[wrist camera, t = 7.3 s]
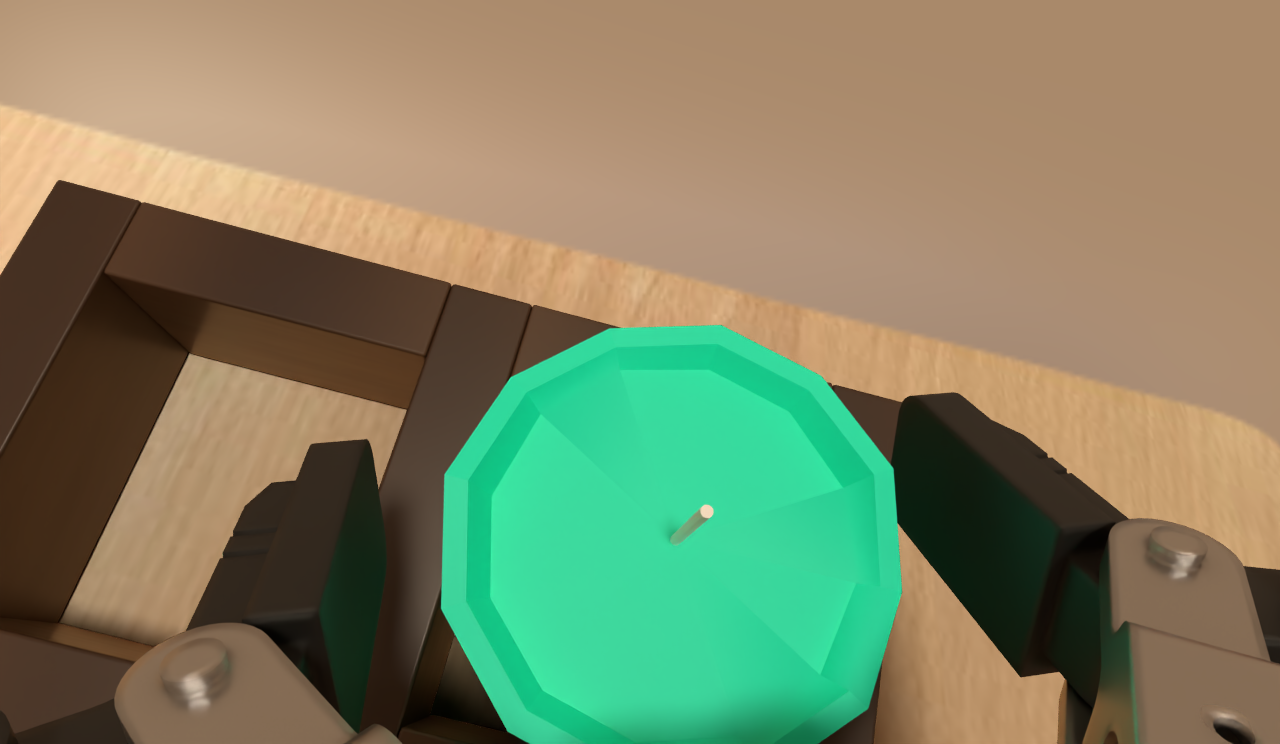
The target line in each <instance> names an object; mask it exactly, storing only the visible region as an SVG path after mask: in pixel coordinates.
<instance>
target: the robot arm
mask: <svg viewBox="0 0 1280 744" xmlns="http://www.w3.org/2000/svg"><path fill="white" fill-rule="evenodd" d="M891 466H892V467H893V469H894V483H895V497H896V512H897V523H898V524H899V525H900V527H901V528H902V529H903V530H904V532H905V533H906V534H907V536H908V537H909V538H910V539H911V541H912V542H913V543H914V544H915V546H916V547H917V548H918V549H919V551H920V552H921V553H922V554H923V556H924V557H925V558H926V559H927V561H928V562H929V563H930V564H931V566H932V567H933V568H934V569H935V571H936V572H937V573H938V574H939V576H940V577H941V578H942V579H943V581H944V582H945V583H946V584H947V586H948V587H949V588H950V589H951V591H952V592H953V593H954V594H955V596H956V597H957V598H958V599H959V601H960V602H961V603H962V604H963V606H964V607H965V608H966V609H967V611H968V612H969V613H970V615H971V616H972V617H973V618H974V620H975V621H976V622H977V623H978V625H979V626H980V627H981V628H982V630H983V631H984V632H985V633H986V635H987V636H988V637H989V638H990V640H991V641H992V642H993V643H994V645H995V646H996V647H997V648H998V650H999V651H1000V652H1001V653H1002V655H1003V656H1004V657H1005V658H1006V660H1007V661H1008V662H1009V663H1010V665H1011V666H1012V667H1013V668H1014V670H1015V671H1016V672H1017V673H1018V675H1019V676H1020V677H1026V676H1033V675H1040V674H1047V673H1054V672H1060V673H1061V674H1062V675H1063V677H1064V678H1065V681H1064V684H1063V688H1062V691H1061V694H1060V699H1059V713H1058V740H1057V744H1280V570H1276V569H1266V568H1256V567H1246V566H1243V565H1242V563H1241V561H1240V560H1239V559H1238V557H1237V556H1236V555H1235V554H1234V553H1233V552H1232V551H1231V550H1229V549H1228V548H1227V547H1225V546H1224V545H1223V544H1221V543H1220V542H1218V541H1216V540H1215V539H1213V538H1211V537H1209V536H1207V535H1205V534H1203V533H1201V532H1199V531H1196V530H1194V529H1191V528H1189V527H1186V526H1183V525H1179V524H1176V523H1172V522H1168V521H1163V520H1156V519H1142V518H1138V519H1128V518H1127V517H1126V516H1125V515H1123V514H1122V513H1121V512H1120V511H1118V510H1117V509H1116V508H1115V507H1113V506H1112V505H1111V504H1110V503H1108V502H1107V501H1106V500H1105V499H1103V498H1102V497H1101V496H1100V495H1098V494H1097V493H1096V492H1095V491H1093V490H1092V489H1091V488H1090V487H1088V486H1087V485H1086V484H1085V483H1083V482H1082V481H1081V480H1080V479H1078V478H1077V477H1076V476H1075V475H1073V474H1072V473H1069V474H1067V469H1066V468H1064V467H1063V466H1062V465H1061V464H1059V463H1058V462H1057V461H1056V460H1054V459H1053V458H1048V456H1047V453H1046V452H1044V451H1043V450H1042V449H1041V448H1039V447H1038V446H1037V445H1036V444H1034V443H1033V442H1032V441H1031V440H1029V439H1028V438H1027V437H1026V436H1024V435H1022V434H1020V433H1018V432H1016V431H1014V430H1012V429H1010V428H1007V427H1005V426H1003V425H1001V424H999V423H997V422H995V421H992V420H991V419H990V418H988V417H987V416H986V415H985V414H984V413H982V412H981V411H980V410H979V409H977V408H976V407H975V406H974V405H973V404H971V403H970V402H969V401H968V400H966V399H965V398H964V397H963V396H961V395H960V394H958V393H941V394H928V395H916V396H909V397H907V398H905V399H904V401H903V402H902V404H901V406H900V409H899V414H898V421H897V427H896V433H895V440H894V446H893V453H892V459H891ZM386 567H387V549H386V536H385V528H384V522H383V516H382V509H381V503H380V497H379V491H378V484H377V478H376V472H375V465H374V459H373V454H372V449H371V446H370V443H369V441H368V440H367V439H364V440H352V441H340V442H327V443H315V444H311V445H310V447H309V449H308V452H307V454H306V457H305V459H304V462H303V464H302V467H301V469H300V472H299V475H298V477H297V480H296V481H286V482H274V483H271V484H270V485H269V486H267V487H266V488H265V489H264V490H263V491H262V492H261V493H259V494H258V495H257V496H256V497H255V498H254V499H253V500H251V501H250V502H249V503H248V504H247V505H246V506H245V507H244V509H243V511H242V513H241V516H240V518H239V520H238V522H237V524H236V526H235V528H234V530H233V536H232V537H230V539H229V541H228V543H227V545H226V547H225V549H224V552H223V558H220V560H219V562H218V564H217V566H216V568H215V571H214V573H213V575H212V577H211V579H210V581H209V583H208V585H207V587H206V590H205V592H204V594H203V596H202V598H201V600H200V602H199V604H198V606H197V609H196V611H195V613H194V615H193V617H192V619H191V621H190V623H189V625H188V628H187V630H186V631H185V632H183V633H180V634H178V635H176V636H173V637H171V638H169V639H167V640H166V641H164V642H162V643H160V644H158V645H157V646H155V647H154V648H152V649H151V650H149V651H148V652H147V653H145V654H144V655H143V656H142V657H141V658H139V659H138V660H137V661H136V662H135V663H134V664H133V665H132V666H131V667H130V668H129V669H128V671H127V672H126V673H125V675H124V676H123V678H122V679H121V681H120V683H119V685H118V687H117V689H116V694H115V698H113V699H111V700H109V701H107V702H105V703H102V704H100V705H97V706H94V707H92V708H89V709H86V710H83V711H80V712H78V713H75V714H72V715H69V716H66V717H63V718H60V719H57V720H54V721H51V722H48V723H45V724H42V725H39V726H36V727H33V728H30V729H28V730H25V731H22V732H19V733H16V734H14V732H13V729H12V727H11V725H10V723H9V721H8V719H7V717H6V715H5V714H4V713H3V712H2V711H1V710H0V744H402V743H401V742H400V741H399V740H398V739H397V738H396V737H395V736H394V735H393V734H392V733H391V732H390V731H389V730H387V729H386V728H385V727H383V726H381V725H378V724H373V725H371V726H369V727H368V728H366V729H365V730H363V731H362V732H360V733H359V731H360V725H361V719H362V713H363V707H364V702H365V696H366V690H367V684H368V678H369V672H370V666H371V660H372V654H373V649H374V643H375V637H376V631H377V625H378V619H379V613H380V607H381V601H382V596H383V590H384V584H385V578H386Z"/></svg>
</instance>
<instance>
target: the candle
mask: <svg viewBox="0 0 1280 744" xmlns="http://www.w3.org/2000/svg"><path fill="white" fill-rule="evenodd" d="M901 594H902V583H901V569H900V555H899V540H898V526H897V512H896V497H895V483H894V469H893V467H892V466H891V465H890V463H889V462H888V461H887V460H886V458H885V457H884V456H883V454H882V453H881V452H880V451H879V449H878V448H877V447H876V445H875V444H874V443H873V442H872V440H871V439H870V438H869V436H868V435H867V434H866V433H865V431H864V430H863V429H862V427H861V426H860V425H859V424H858V422H857V421H856V420H855V418H854V417H853V416H852V415H851V413H850V412H849V411H848V409H847V408H846V407H845V406H844V404H843V403H842V402H841V400H840V399H839V398H838V397H837V395H836V394H835V393H834V391H833V390H832V389H831V388H830V386H829V385H828V384H827V382H826V381H825V380H824V379H823V377H822V376H820V375H818V374H817V373H815V372H813V371H811V370H809V369H807V368H805V367H803V366H801V365H799V364H797V363H795V362H793V361H791V360H789V359H787V358H785V357H783V356H781V355H779V354H777V353H775V352H773V351H771V350H769V349H767V348H765V347H763V346H761V345H759V344H757V343H755V342H753V341H752V340H750V339H748V338H746V337H744V336H742V335H740V334H738V333H736V332H734V331H732V330H730V329H728V328H726V327H724V326H722V325H708V326H673V327H638V328H609V329H607V330H605V331H603V332H601V333H599V334H597V335H595V336H593V337H591V338H589V339H587V340H585V341H583V342H581V343H579V344H577V345H575V346H573V347H571V348H569V349H567V350H565V351H563V352H561V353H559V354H557V355H555V356H553V357H551V358H549V359H547V360H545V361H543V362H541V363H539V364H537V365H535V366H533V367H531V368H529V369H527V370H525V371H522V372H520V373H518V374H516V375H514V376H512V377H511V378H510V379H509V381H508V382H507V384H506V385H505V386H504V388H503V389H502V391H501V392H500V394H499V395H498V397H497V398H496V400H495V401H494V403H493V404H492V406H491V407H490V408H489V410H488V411H487V413H486V414H485V416H484V417H483V419H482V420H481V422H480V423H479V425H478V426H477V428H476V429H475V430H474V432H473V433H472V435H471V436H470V438H469V439H468V441H467V442H466V444H465V445H464V447H463V448H462V449H461V451H460V452H459V454H458V455H457V457H456V458H455V460H454V461H453V463H452V464H451V466H450V467H449V469H448V470H447V471H446V473H445V474H444V512H443V552H442V592H441V610H442V612H443V613H444V615H445V617H446V619H447V621H448V623H449V624H450V626H451V628H452V630H453V632H454V634H455V636H456V637H457V639H458V641H459V643H460V645H461V647H462V648H463V650H464V652H465V654H466V656H467V658H468V659H469V661H470V663H471V665H472V667H473V669H474V671H475V672H476V674H477V676H478V678H479V680H480V682H481V683H482V685H483V687H484V689H485V691H486V693H487V694H488V696H489V698H490V700H491V702H492V704H493V706H494V707H495V709H496V711H497V713H498V715H499V717H500V718H501V720H502V722H503V724H504V726H505V728H506V730H507V731H508V732H509V733H511V734H513V735H515V736H516V737H518V738H520V739H522V740H524V741H525V742H527V743H529V744H818V743H820V742H821V741H823V740H824V739H826V738H827V737H828V736H830V735H831V734H833V733H834V732H836V731H837V730H838V729H840V728H841V727H843V726H844V725H846V724H847V723H848V722H850V721H851V720H853V719H854V718H856V717H857V716H858V715H860V714H861V713H863V712H864V711H866V710H867V709H868V708H869V704H870V701H871V697H872V694H873V690H874V687H875V683H876V680H877V677H878V673H879V670H880V666H881V663H882V659H883V656H884V652H885V649H886V646H887V642H888V639H889V635H890V632H891V628H892V625H893V621H894V618H895V615H896V611H897V608H898V604H899V601H900V597H901Z"/></svg>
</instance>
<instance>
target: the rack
mask: <svg viewBox="0 0 1280 744" xmlns="http://www.w3.org/2000/svg"><path fill="white" fill-rule="evenodd" d="M609 328H620V327H616V326H612V325H609V324H605V323H601V322H597V321H593V320H590V319H586V318H582V317H578V316H574V315H571V314H567V313H563V312H559V311H555V310H552V309H548V308H544V307H540V306H537V305H534V306H533V307H532V306H531V305H530V304H527V303H524V302H520V301H516V300H512V299H508V298H505V297H501V296H497V295H493V294H490V293H486V292H482V291H478V290H474V289H471V288H467V287H463V286H459V285H453V286H452V287H451V284H450V283H448V282H444V281H441V280H437V279H433V278H429V277H425V276H422V275H418V274H414V273H410V272H406V271H403V270H399V269H395V268H391V267H387V266H384V265H380V264H376V263H372V262H369V261H365V260H361V259H357V258H353V257H350V256H346V255H342V254H338V253H334V252H331V251H327V250H323V249H319V248H315V247H312V246H308V245H304V244H300V243H297V242H293V241H289V240H285V239H281V238H278V237H274V236H270V235H266V234H262V233H259V232H255V231H251V230H247V229H243V228H240V227H236V226H232V225H228V224H224V223H221V222H217V221H213V220H209V219H206V218H202V217H198V216H194V215H190V214H187V213H183V212H179V211H175V210H171V209H168V208H164V207H160V206H156V205H152V204H149V203H145V202H144V203H141V202H140V201H138V200H134V199H130V198H126V197H123V196H119V195H115V194H111V193H107V192H104V191H100V190H96V189H92V188H88V187H85V186H81V185H77V184H73V183H69V182H66V181H62V180H58V181H57V182H56V184H55V186H54V187H53V189H52V191H51V192H50V194H49V196H48V197H47V199H46V201H45V202H44V204H43V206H42V207H41V209H40V211H39V212H38V214H37V216H36V217H35V219H34V220H33V222H32V224H31V225H30V227H29V229H28V230H27V232H26V234H25V235H24V237H23V239H22V240H21V242H20V244H19V245H18V247H17V249H16V250H15V252H14V253H13V255H12V257H11V258H10V260H9V262H8V263H7V265H6V267H5V268H4V270H3V272H2V273H1V275H0V710H1V711H2V712H3V713H4V714H5V715H6V717H7V719H8V721H9V723H10V725H11V727H12V729H13V732H14V734H16V733H19V732H22V731H25V730H28V729H30V728H33V727H36V726H39V725H42V724H45V723H48V722H51V721H54V720H57V719H60V718H63V717H66V716H69V715H72V714H75V713H78V712H80V711H83V710H86V709H89V708H92V707H94V706H97V705H100V704H102V703H105V702H107V701H109V700H111V699H113V698H115V694H116V689H117V687H118V685H119V683H120V681H121V679H122V678H123V676H124V675H125V673H126V672H127V671H128V669H129V668H130V667H131V666H132V665H133V664H134V663H135V662H136V661H137V660H138V659H139V658H141V657H142V656H143V655H144V654H145V653H147V652H148V651H149V650H151V649H152V648H154V646H150V645H146V644H142V643H138V642H134V641H130V640H126V639H122V638H118V637H113V636H109V635H105V634H101V633H97V632H93V631H89V630H85V629H81V628H77V627H73V626H68V625H64V624H60V623H58V621H59V618H60V616H61V614H62V612H63V610H64V608H65V606H66V604H67V602H68V600H69V598H70V596H71V594H72V592H73V590H74V587H75V585H76V583H77V581H78V579H79V577H80V575H81V573H82V571H83V569H84V567H85V565H86V563H87V561H88V559H89V556H90V554H91V552H92V550H93V548H94V546H95V544H96V542H97V540H98V538H99V536H100V534H101V532H102V530H103V528H104V525H105V523H106V521H107V519H108V517H109V515H110V513H111V511H112V509H113V507H114V505H115V503H116V501H117V499H118V497H119V494H120V492H121V490H122V488H123V486H124V484H125V482H126V480H127V478H128V476H129V474H130V472H131V470H132V468H133V466H134V463H135V461H136V459H137V457H138V455H139V453H140V451H141V449H142V447H143V445H144V443H145V441H146V439H147V437H148V435H149V432H150V430H151V428H152V426H153V424H154V422H155V420H156V418H157V416H158V414H159V412H160V410H161V408H162V406H163V404H164V401H165V399H166V397H167V395H168V393H169V391H170V389H171V387H172V385H173V383H174V381H175V379H176V377H177V375H178V373H179V371H180V368H181V366H182V364H183V362H184V360H185V358H186V356H187V354H188V352H190V353H192V354H196V355H199V356H203V357H207V358H211V359H215V360H219V361H223V362H227V363H230V364H234V365H238V366H242V367H246V368H250V369H254V370H258V371H261V372H265V373H269V374H273V375H277V376H281V377H285V378H289V379H293V380H296V381H300V382H304V383H308V384H312V385H316V386H320V387H324V388H327V389H331V390H335V391H339V392H343V393H347V394H351V395H355V396H359V397H362V398H366V399H370V400H374V401H378V402H382V403H386V404H390V405H393V406H397V407H401V408H405V409H407V411H406V414H405V417H404V420H403V423H402V425H401V428H400V431H399V434H398V436H397V439H396V442H395V445H394V448H393V450H392V453H391V456H390V459H389V462H388V464H387V467H386V470H385V473H384V475H383V478H382V481H381V484H380V487H379V489H378V491H379V497H380V503H381V509H382V516H383V522H384V528H385V536H386V549H387V567H386V578H385V584H384V590H383V596H382V601H381V607H380V613H379V619H378V625H377V631H376V637H375V643H374V649H373V654H372V660H371V666H370V672H369V678H368V684H367V690H366V696H365V702H364V707H363V713H362V719H361V725H360V731H359V733H360V732H362V731H363V730H365V729H366V728H368V727H369V726H371V725H373V724H378V725H381V726H383V727H385V728H386V729H387V730H389V731H390V732H391V733H392V734H393V735H394V736H395V737H396V738H397V739H398V740H399V741H400V742H401V743H402V744H529V743H527V742H525V741H524V740H522V739H520V738H518V737H516V736H515V735H513V734H511V733H507V732H503V731H498V730H494V729H490V728H486V727H482V726H478V725H474V724H470V723H466V722H462V721H457V720H453V719H449V718H445V717H441V716H437V715H430V713H431V710H432V707H433V703H434V700H435V697H436V693H437V690H438V687H439V683H440V680H441V677H442V674H443V670H444V667H445V664H446V660H447V657H448V654H449V650H450V647H451V644H452V640H453V637H454V632H453V630H452V628H451V626H450V624H449V623H448V621H447V619H446V617H445V615H444V613H443V612H442V610H441V592H442V552H443V512H444V474H445V473H446V471H447V470H448V469H449V467H450V466H451V464H452V463H453V461H454V460H455V458H456V457H457V455H458V454H459V452H460V451H461V449H462V448H463V447H464V445H465V444H466V442H467V441H468V439H469V438H470V436H471V435H472V433H473V432H474V430H475V429H476V428H477V426H478V425H479V423H480V422H481V420H482V419H483V417H484V416H485V414H486V413H487V411H488V410H489V408H490V407H491V406H492V404H493V403H494V401H495V400H496V398H497V397H498V395H499V394H500V392H501V391H502V389H503V388H504V386H505V385H506V384H507V382H508V381H509V379H510V378H511V377H512V376H514V375H516V374H518V373H520V372H522V371H525V370H527V369H529V368H531V367H533V366H535V365H537V364H539V363H541V362H543V361H545V360H547V359H549V358H551V357H553V356H555V355H557V354H559V353H561V352H563V351H565V350H567V349H569V348H571V347H573V346H575V345H577V344H579V343H581V342H583V341H585V340H587V339H589V338H591V337H593V336H595V335H597V334H599V333H601V332H603V331H605V330H607V329H609ZM827 384H828V385H829V386H830V388H831V389H832V390H833V391H834V393H835V394H836V395H837V397H838V398H839V399H840V400H841V402H842V403H843V404H844V406H845V407H846V408H847V409H848V411H849V412H850V413H851V415H852V416H853V417H854V418H855V420H856V421H857V422H858V424H859V425H860V426H861V427H862V429H863V430H864V431H865V433H866V434H867V435H868V436H869V438H870V439H871V440H872V442H873V443H874V444H875V445H876V447H877V448H878V449H879V451H880V452H881V453H882V454H883V456H884V457H885V458H886V460H887V461H888V462H889V463H890V465H891V459H892V453H893V446H894V440H895V433H896V427H897V421H898V414H899V409H900V406H901V404H902V402H898V401H895V400H891V399H887V398H883V397H879V396H876V395H872V394H868V393H864V392H860V391H857V390H853V389H849V388H845V387H842V386H838V385H833V386H832V384H831V383H828V382H827ZM881 669H882V663H881V666H880V670H879V673H878V677H877V680H876V683H875V687H874V690H873V694H872V697H871V701H870V704H869V708H868V709H867V710H866V711H864V712H863V713H861V714H860V715H858V716H857V717H856V718H854V719H853V720H851V721H850V722H848V723H847V724H846V725H844V726H843V727H841V728H840V729H838V730H837V731H836V732H834V733H833V734H831V735H830V736H828V737H827V738H826V739H824V740H823V741H821V742H820V743H818V744H873V743H874V734H875V725H876V715H877V706H878V697H879V687H880V678H881Z"/></svg>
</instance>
